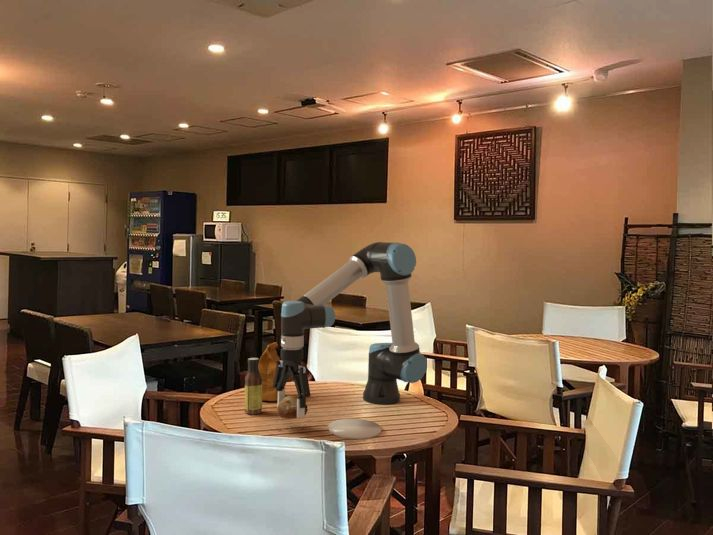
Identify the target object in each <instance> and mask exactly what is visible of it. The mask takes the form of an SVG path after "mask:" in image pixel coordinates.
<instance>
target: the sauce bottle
mask: <svg viewBox="0 0 713 535" xmlns="http://www.w3.org/2000/svg"><path fill="white" fill-rule="evenodd" d="M259 360H260V358H258V357H250V358H247V364H248V365H247V373H246V374H245V376H244V409H245V410H244V413H245V414H248V415H259V414H261V413H262V412H263V410H262V409H263V401H262V380H261V376H260V373H259V369H258V365H259V364H258V363H259Z"/></svg>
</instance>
